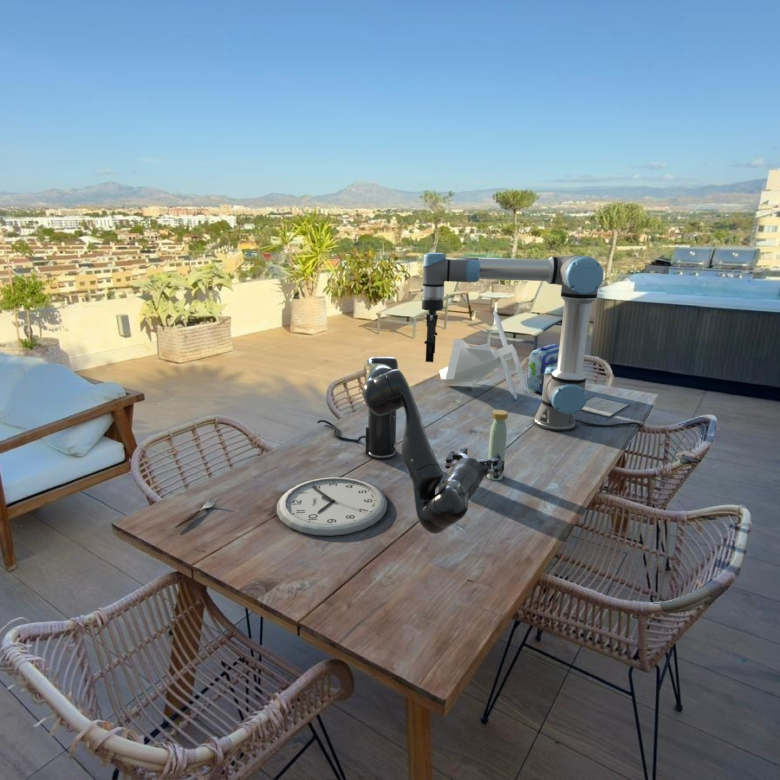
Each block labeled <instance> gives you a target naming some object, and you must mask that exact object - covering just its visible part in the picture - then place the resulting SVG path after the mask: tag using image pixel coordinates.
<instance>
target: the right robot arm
mask: <svg viewBox="0 0 780 780" xmlns="http://www.w3.org/2000/svg"><path fill="white" fill-rule="evenodd" d="M422 264H423V265H422V288H420V292H421V293H422V294H421V296H422V299H421V309H422V310H423V311H428V313H426V316H425V320H426V340H424V342H423V343H424V344H425V362H426V363H434V359H435V357H434V356H435V353H436V338H437V337H436V336H438V332H437V329H436V328H437V324H438V318H439V315H438V314H437V311H438V312H439V311H442V310H444V299H443V298H444V297H445V282H447V283H449V282H452V283H453V282H457V283H468V284H470V283H477V282H479V281H480V280H495V281H497V280H499V281H500V280H501V281H526V282H527V281H531V282H546V283H547V284H548V285H557V286H561V289H560V298H561V299H562V300H563V303H564V305H563V313H562V322H561V330H560V339H559V345H560V346H559V355H558V364H557V366H553V367H547V368H546V369H545V373H544V382H543V392H542V393H541V402H540V405H539V407H538V410H537V411H536V413H535V416H534V424H535V425H536V426H537V427H539V428H542V429H544V430H549V431H556V432H567V431H572V430H574V429H575V428H576V423H580V424H583V425H585V426H592V427H603V428H605V427H607V428H610V427H611V428H613V427H619V426H631V425H633V426H634V425H635V426H638V427H639V428H644V426H643V424H641V423H639V422H635V421H634V422H633V421H632V422H619V423H613V424H610V423H609V424H603V423H601V424H600V423H592V422H587V421H583V420H580V419H576V418H575V417H576V416H575V414H576V413H579V412H580V411H582V410H581V409H582V408H583V407H584V406H585V404H586V401H588V397H587V392H586V389H585V388H586V383H587V382H586V381H587V375H586V374H585V373H584V371H583V369H584V361H585V355H586V347H587V339H588V338H587V337H588V330H589V324H590V318H591V317H590V316H591V308H592V303H593V302H594V301H596V300H597V298H598V294H599V293H598V291H599V288H601V285H602V284H603V281H604V269H603V267H602V265H601V264H600V262H599V261H597V260H596V259H595V258H594V257H592V256H587V255H581V254H574V255H573V254H572V255H565V256H551V257H549V258H548V259H545V258H544V259H543V258H542V259H541V258H540V259H539V258H501V257H500V258H497V257H496V258H495V257H494V258H492V257H466V256H460V257H457V258H455V259H451V258H449V259H448V258H447V257H446V253H444V252H427V253H425V254H424V255H423V263H422Z"/></svg>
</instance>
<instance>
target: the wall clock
mask: <svg viewBox="0 0 780 780" xmlns="http://www.w3.org/2000/svg"><path fill="white" fill-rule="evenodd" d="M387 509H388V500H387V498H386V496H385V494H384V493H383V492H382V491H381V490H380V489H379V488H377V487H376V486H374V485H372V484H371V483H369V482H365V481H362V480H359V479H355V478H349V477H338V476H337V477H335V476H333V477H332V476H331V477H322V478H317V479H312V480H307V481H305V482H302V483H299V484H297V485H295V486H293V487H292V488H290V489H288V490H287V491H286V492H285V493H284V494H283V495H281V496H280V498H279V499H278V502H277V503H276V515H277V517H278V518H279V520H280V521H281V522H282V523H283V524H285V525H286V526H287V527H288V528H290V529H293V530H295V531H297V532H299V533H303V534H308V535H312V536H327V537H328V536H329V537H331V536H332V537H333V536H342V535H350V534H352V533H356V532H361V531H363V530H366V529H368V528H369V527H372V526H373V525H375V524H376V523H378V522H379V521H380V520H381V519H382V518H383V517H384V516H385V514H386V512H387Z"/></svg>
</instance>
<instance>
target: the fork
mask: <svg viewBox="0 0 780 780" xmlns="http://www.w3.org/2000/svg"><path fill="white" fill-rule="evenodd" d="M219 496H220V494H218V493H213V492H212V493H211V494H210V497H208V500H207V501H206V502H205V503H204V504H203V505H202V507H201V508H200V509H198V510H196V511H194V512H193V513H191V514H189V515H188V516H187V517H185V518H184V519H183V520H182V521H181V522H179V523H178V524H177V525H175V527H174V528H175V529H177V528H179V527H180V526H182V525H184V524H185V523H187V522H189V521H190V520H192V519H194V517H196V516H197V515H198V514H199V513H201V511H203V510H204V509H210V508H212V507H213V506H214V505H215V504H216V502H217V500H218V498H219Z"/></svg>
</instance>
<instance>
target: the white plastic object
mask: <svg viewBox="0 0 780 780" xmlns="http://www.w3.org/2000/svg"><path fill="white" fill-rule="evenodd" d="M492 315H493V319H494V321H495V324H496V325H495V326H496V328H497V332H498V335H499V338H500V342H501V345H502V347H500V348H498V349H496V350H495V349H493V348H492V347H491V346H490V344H489V343H488V342H487V343H483V344H479V345H473V346H469V345H468V343H466V342H465V340H464V339H463V338H460V339H458V338H454V340H453V344H452V349H451V353H450V357H449V362H448V366H446V367H444V368H442V369H440V370H439V371H438V372H439V376H440V381H442V383H443V384H444V385H445V386H449V385H458V384H467V383H468V384H469V383H473V384H477V383H480V382H482V381H484V378H485V377H486V376H487V375H489V374H490V373H492V372H494V371H495V370H496V369H497V368H499V367H500V366H502V370H503V373H504V376H505V380H506V383H507V386H508V390H509V393H510V394H511V395H512V397H513V398H514V399H515V400H517V392H516V391H517V390H516V388H515V385H514V381H513V378H512V375H511V371H510V369H509V365H508V361H510V360H513V363H514V366H515V369H516V372H517V376H518V380H519V382H520V385H521V389H522V391H523V393H524V395H525V396H526V397H528V396H531V395H530V390H529V389H528V387H527V380H526V378H525V375H524V371H523V369H522V368H523V367H522V366H521V362H520V359H519V355H518V352H517V349H516V347H515V346H514V345H513V343H511V344H508V341H507V337H506V334H505V331H504V328H503V325H502V321H501V318H500V315H499V314H498V312H497V311H496V310H495V311H492Z"/></svg>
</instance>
